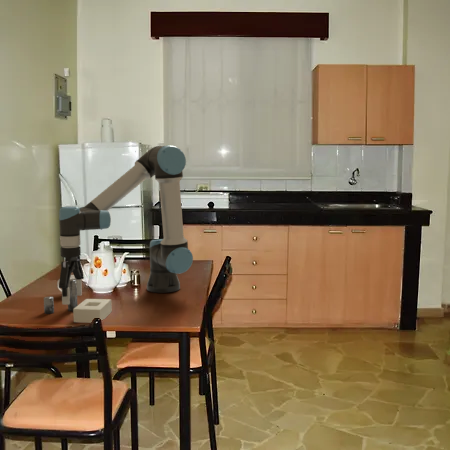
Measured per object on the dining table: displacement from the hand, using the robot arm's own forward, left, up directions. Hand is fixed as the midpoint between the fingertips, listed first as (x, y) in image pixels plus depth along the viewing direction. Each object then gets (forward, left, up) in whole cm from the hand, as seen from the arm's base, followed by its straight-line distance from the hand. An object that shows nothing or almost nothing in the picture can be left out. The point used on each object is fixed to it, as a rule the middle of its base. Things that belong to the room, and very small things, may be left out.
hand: (72, 299), depth 213 cm
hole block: (-11, +8, -4) cm, 14 cm away
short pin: (+8, +4, -4) cm, 10 cm away
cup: (+11, -23, -4) cm, 26 cm away
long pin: (0, 0, -4) cm, 4 cm away
